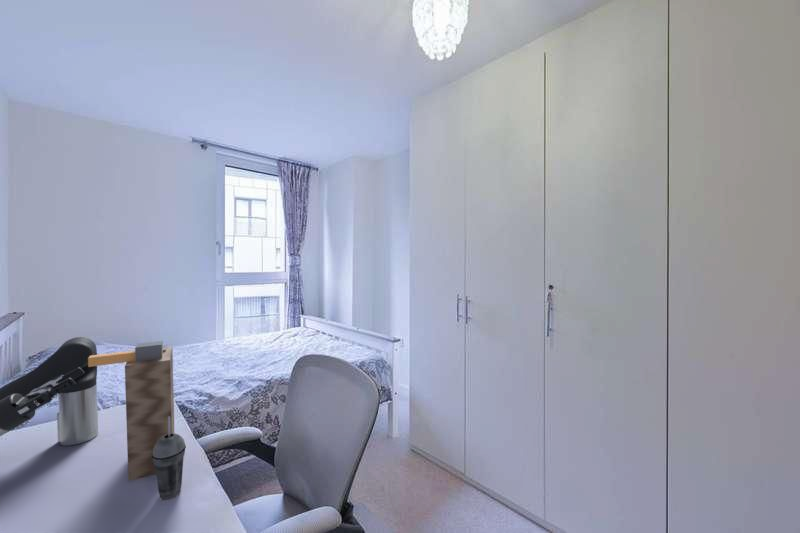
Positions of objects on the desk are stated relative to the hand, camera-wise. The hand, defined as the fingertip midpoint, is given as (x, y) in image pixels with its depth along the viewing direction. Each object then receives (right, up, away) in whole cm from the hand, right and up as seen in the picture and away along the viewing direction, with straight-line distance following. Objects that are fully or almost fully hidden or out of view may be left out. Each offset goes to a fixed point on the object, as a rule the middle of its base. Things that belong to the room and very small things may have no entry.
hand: (77, 375), depth 89 cm
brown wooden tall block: (+11, -30, +13) cm, 34 cm away
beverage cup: (+25, -31, -1) cm, 39 cm away
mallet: (+8, +2, +6) cm, 10 cm away
